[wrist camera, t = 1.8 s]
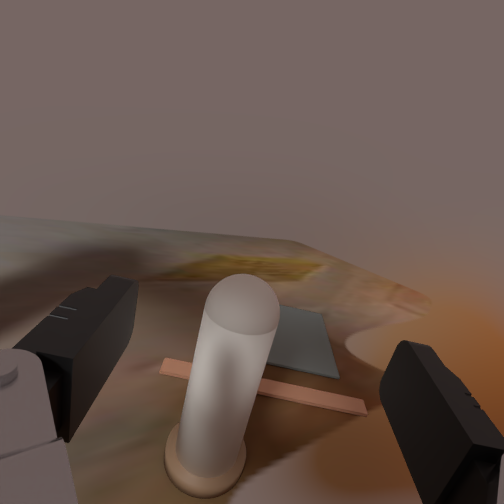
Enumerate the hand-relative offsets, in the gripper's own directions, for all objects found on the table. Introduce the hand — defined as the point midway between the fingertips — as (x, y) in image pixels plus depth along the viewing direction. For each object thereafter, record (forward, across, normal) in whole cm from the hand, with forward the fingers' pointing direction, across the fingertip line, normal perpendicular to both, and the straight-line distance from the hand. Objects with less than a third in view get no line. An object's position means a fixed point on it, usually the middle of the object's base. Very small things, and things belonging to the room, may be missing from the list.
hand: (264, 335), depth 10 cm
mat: (+31, -6, +20) cm, 37 cm away
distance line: (+20, -5, +20) cm, 29 cm away
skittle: (+11, 0, +20) cm, 23 cm away
